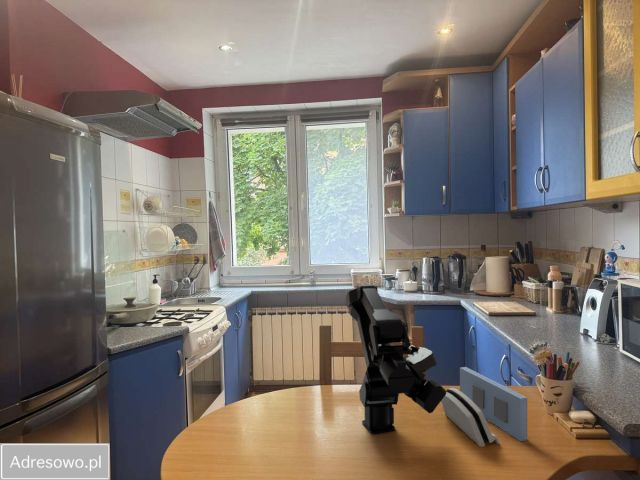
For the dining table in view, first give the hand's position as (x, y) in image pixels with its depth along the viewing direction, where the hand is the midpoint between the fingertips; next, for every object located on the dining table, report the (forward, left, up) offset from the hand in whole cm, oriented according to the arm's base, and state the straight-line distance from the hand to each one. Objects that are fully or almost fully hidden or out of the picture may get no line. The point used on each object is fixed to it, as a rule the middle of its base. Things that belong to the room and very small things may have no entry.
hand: (435, 405), depth 96 cm
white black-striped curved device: (+8, -1, -7) cm, 11 cm away
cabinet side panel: (+17, +1, -7) cm, 18 cm away
